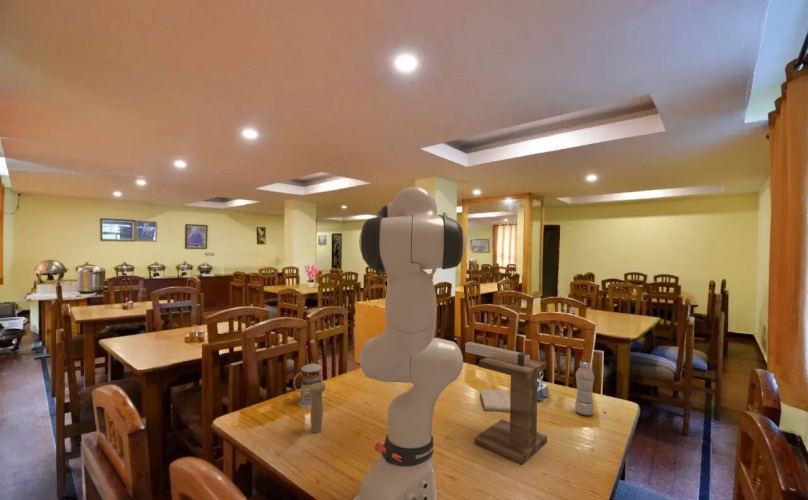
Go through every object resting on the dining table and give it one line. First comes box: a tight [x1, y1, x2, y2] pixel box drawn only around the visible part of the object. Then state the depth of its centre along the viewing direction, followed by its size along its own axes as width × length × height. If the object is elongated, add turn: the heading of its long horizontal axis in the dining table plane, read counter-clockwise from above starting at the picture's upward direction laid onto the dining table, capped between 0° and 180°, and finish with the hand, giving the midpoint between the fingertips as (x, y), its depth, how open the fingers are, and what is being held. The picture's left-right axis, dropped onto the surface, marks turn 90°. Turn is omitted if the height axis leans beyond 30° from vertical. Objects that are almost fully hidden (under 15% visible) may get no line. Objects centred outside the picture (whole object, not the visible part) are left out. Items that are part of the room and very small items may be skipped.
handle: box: [308, 382, 326, 434], centre depth 120 cm, size 5×6×15 cm
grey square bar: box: [464, 341, 531, 366], centre depth 119 cm, size 3×22×3 cm, turn 46°
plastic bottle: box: [574, 359, 595, 416], centre depth 137 cm, size 6×7×20 cm
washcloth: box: [479, 388, 510, 413], centre depth 146 cm, size 12×18×3 cm, turn 174°
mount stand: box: [473, 357, 548, 466], centre depth 114 cm, size 18×16×26 cm
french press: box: [293, 339, 324, 409], centre depth 141 cm, size 10×12×25 cm
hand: (417, 279), depth 127 cm, fingers open, 8 cm apart
